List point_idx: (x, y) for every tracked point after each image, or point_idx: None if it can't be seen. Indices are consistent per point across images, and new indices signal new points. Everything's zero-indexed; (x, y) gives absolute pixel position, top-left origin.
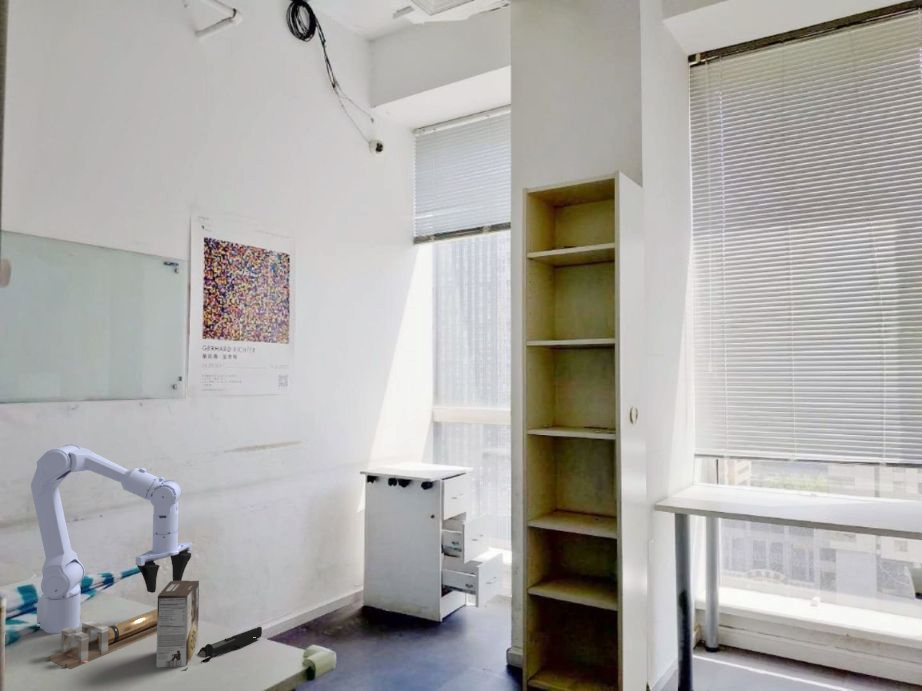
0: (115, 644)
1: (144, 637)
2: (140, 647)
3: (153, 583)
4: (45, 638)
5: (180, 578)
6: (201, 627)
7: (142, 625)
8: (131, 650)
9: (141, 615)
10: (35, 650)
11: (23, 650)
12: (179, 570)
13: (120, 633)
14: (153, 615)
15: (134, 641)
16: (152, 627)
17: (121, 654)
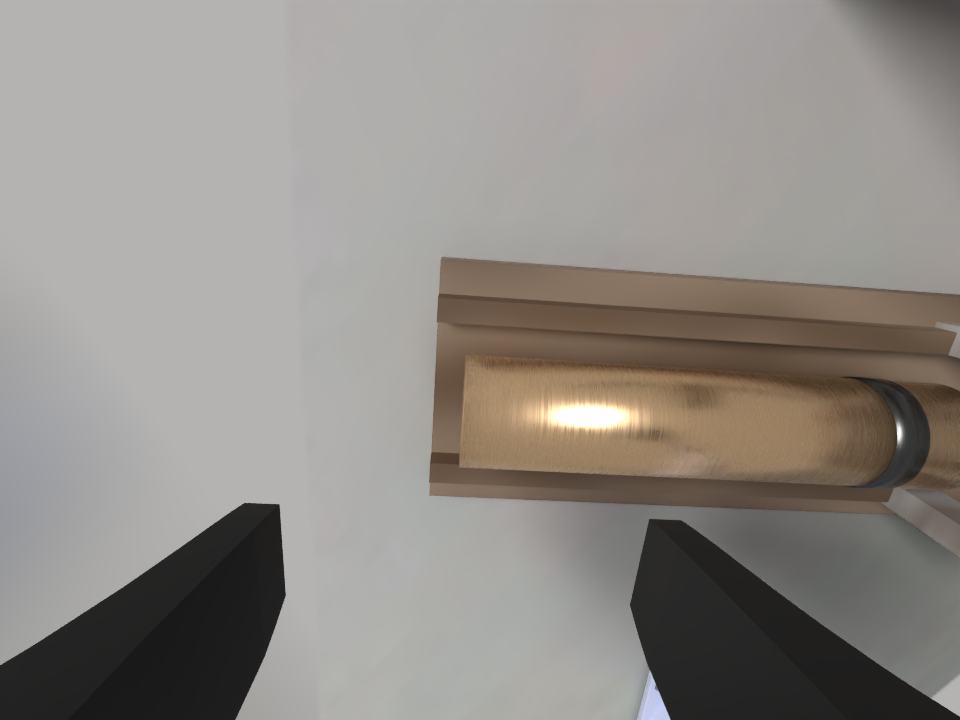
0: (905, 329)
1: (707, 292)
2: (764, 243)
3: (791, 605)
4: None
5: (226, 538)
6: (356, 112)
7: (690, 370)
8: (813, 258)
9: (676, 442)
10: (902, 649)
11: (910, 683)
12: (148, 687)
13: (857, 384)
14: (595, 394)
15: (777, 298)
16: None
17: (873, 266)
